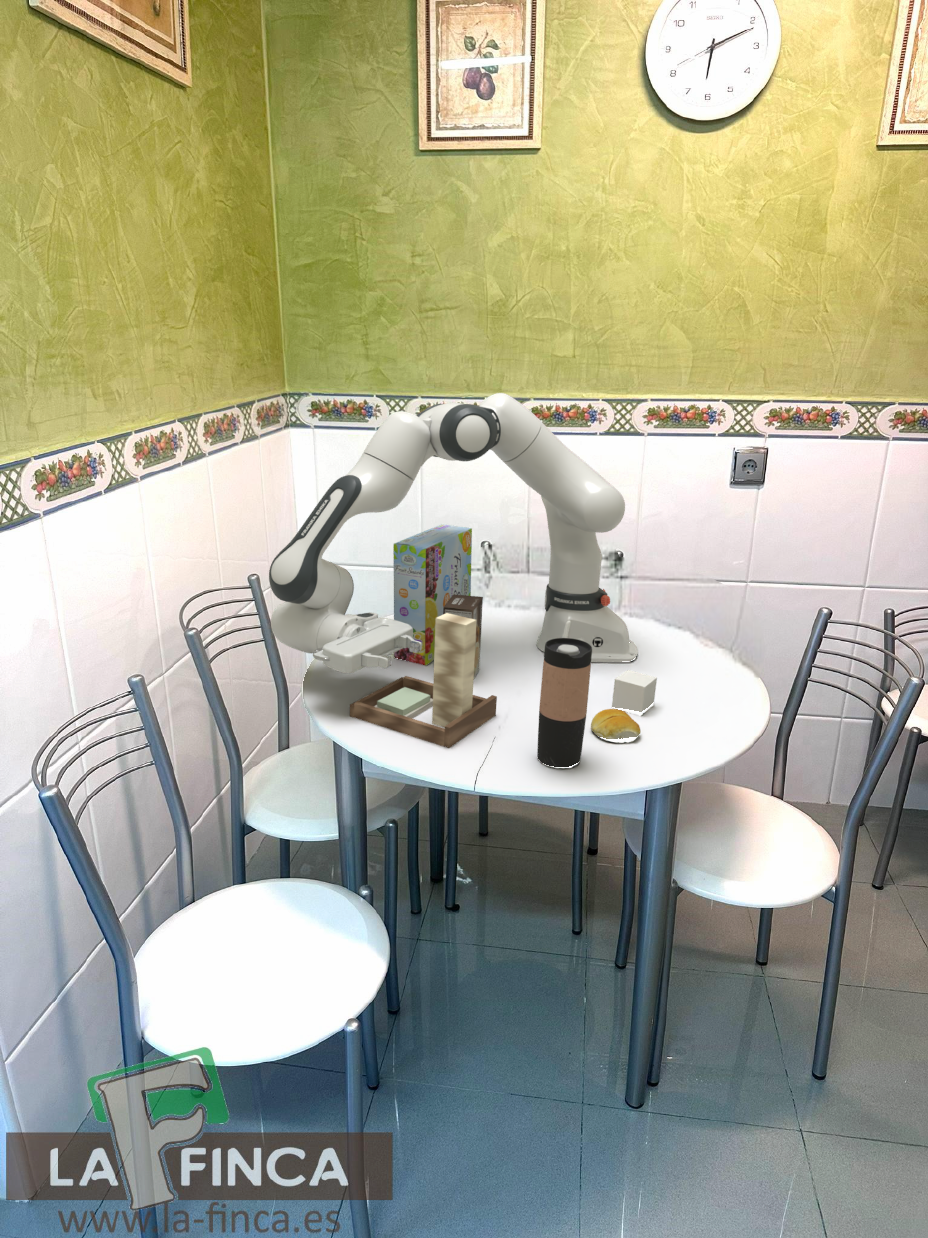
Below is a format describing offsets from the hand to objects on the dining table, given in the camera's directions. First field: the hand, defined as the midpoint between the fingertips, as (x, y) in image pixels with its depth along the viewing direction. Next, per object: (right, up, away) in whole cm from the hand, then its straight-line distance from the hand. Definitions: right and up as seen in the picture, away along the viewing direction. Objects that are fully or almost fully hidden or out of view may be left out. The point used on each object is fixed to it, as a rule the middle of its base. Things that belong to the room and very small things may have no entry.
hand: (404, 655), depth 152 cm
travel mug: (+26, -17, -12) cm, 33 cm away
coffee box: (+10, -5, +20) cm, 23 cm away
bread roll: (+37, -14, -1) cm, 40 cm away
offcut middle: (0, -10, +4) cm, 11 cm away
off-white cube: (+43, -11, +10) cm, 45 cm away
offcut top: (0, -9, +3) cm, 10 cm away
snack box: (+4, 0, +35) cm, 35 cm away
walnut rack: (+3, -11, +1) cm, 12 cm away
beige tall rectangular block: (+8, -12, -2) cm, 15 cm away
